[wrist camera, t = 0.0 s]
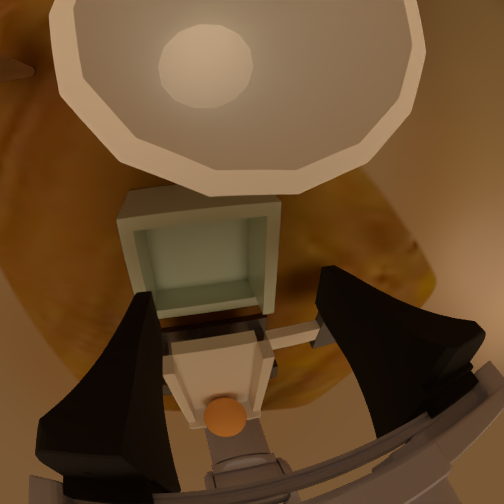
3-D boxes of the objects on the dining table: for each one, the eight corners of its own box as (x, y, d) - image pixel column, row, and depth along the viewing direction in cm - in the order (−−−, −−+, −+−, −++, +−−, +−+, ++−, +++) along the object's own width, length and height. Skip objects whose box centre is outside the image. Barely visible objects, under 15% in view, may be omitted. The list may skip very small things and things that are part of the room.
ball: (241, 404, 26) (251, 437, 23) (203, 411, 25) (210, 445, 22) (240, 386, 24) (252, 423, 21) (198, 393, 23) (205, 431, 20)
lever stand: (263, 340, 29) (280, 382, 24) (156, 357, 26) (159, 402, 22) (265, 313, 27) (284, 356, 22) (147, 330, 24) (147, 378, 19)
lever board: (315, 361, 31) (330, 397, 27) (183, 387, 28) (190, 429, 24) (352, 280, 22) (382, 328, 18) (155, 312, 19) (159, 376, 15)
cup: (255, 281, 24) (273, 320, 20) (149, 295, 22) (148, 339, 18) (256, 177, 20) (281, 201, 16) (128, 190, 18) (116, 219, 14)
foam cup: (130, 137, 16) (53, 211, 5) (136, 8, 11) (93, -107, 1) (271, 134, 18) (406, 197, 8) (280, 13, 14) (417, -55, 3)
